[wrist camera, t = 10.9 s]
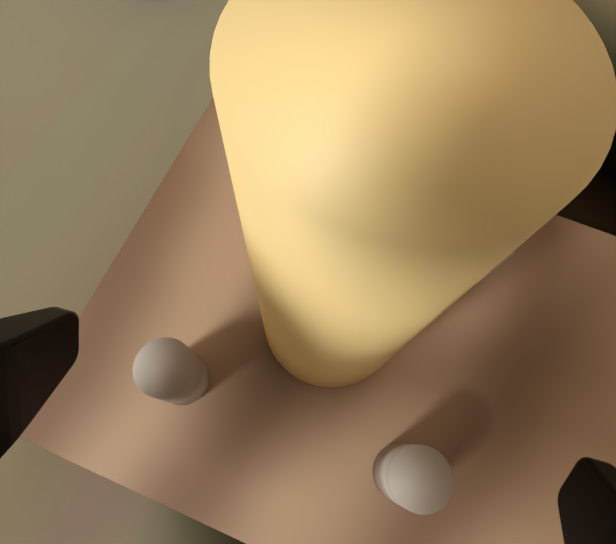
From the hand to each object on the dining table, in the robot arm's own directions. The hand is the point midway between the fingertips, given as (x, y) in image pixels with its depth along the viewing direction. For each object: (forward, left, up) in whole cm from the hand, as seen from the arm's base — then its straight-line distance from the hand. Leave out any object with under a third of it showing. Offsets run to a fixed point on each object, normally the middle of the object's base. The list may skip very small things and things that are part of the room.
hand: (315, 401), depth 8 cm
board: (+6, +1, -8) cm, 10 cm away
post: (+1, +3, -7) cm, 7 cm away
